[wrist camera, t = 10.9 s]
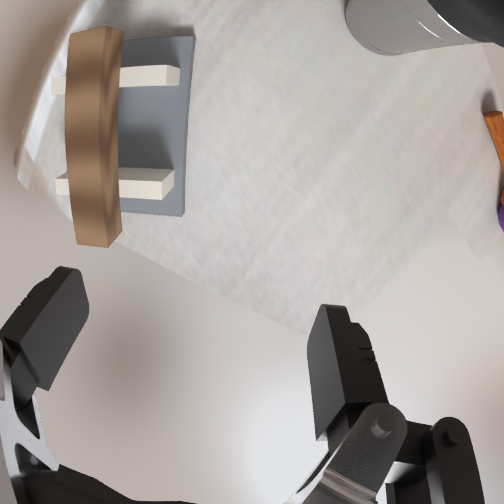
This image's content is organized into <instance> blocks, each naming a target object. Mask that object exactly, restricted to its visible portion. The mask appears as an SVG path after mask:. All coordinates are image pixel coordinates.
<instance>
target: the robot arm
mask: <svg viewBox="0 0 504 504" xmlns="http://www.w3.org/2000/svg"><path fill="white" fill-rule="evenodd" d="M345 17H346V22H347V25H348V28H349V30H350V31H351V33H352V35H353V36H354V37H355V38H356V39H357V41H358V42H360V43H361V44H362V45H363V46H364V47H366V48H367V49H369V50H371V51H373V52H375V53H378V54H382V55H390V56H393V55H401V54H404V53H409V52H415V51H421V50H427V49H433V48H440V47H447V46H455V45H464V44H474V43H487V42H493V43H496V44H497V45H500V46H502V47H504V0H349V1H348V3H347V6H346V10H345ZM88 314H89V303H88V299H87V295H86V291H85V287H84V283H83V279H82V275H81V272H80V271H79V270H78V269H74V268H69V267H63V266H59V267H57V268H56V269H55V271H54V272H53V273H52V274H51V276H49V277H48V278H46V279H44V280H43V281H41V282H40V283H38V284H37V285H35V286H34V287H33V289H32V290H31V291H30V292H29V293H28V295H27V298H26V297H25V298H24V300H23V301H22V302H21V305H19V306H18V307H17V308H16V310H15V311H14V312H13V314H12V315H11V316H10V318H9V319H8V320H7V322H6V323H5V324H4V326H3V327H2V328H1V330H0V504H194V503H189V502H183V501H135V500H131V499H129V498H127V497H125V496H124V495H122V494H120V493H118V492H117V491H115V490H113V489H111V488H110V487H108V486H106V485H105V484H103V483H102V482H100V481H98V480H97V479H95V478H93V477H90V476H87V475H85V474H82V473H80V472H77V471H75V470H72V469H70V468H68V467H65V466H63V465H61V464H60V465H59V464H58V462H57V460H56V458H55V456H54V454H53V453H52V451H51V450H50V448H49V446H48V444H47V441H46V437H45V434H44V430H43V426H42V421H41V417H40V412H39V408H38V403H37V398H36V395H35V393H34V391H35V389H36V387H40V388H42V389H44V390H47V391H49V389H50V387H51V385H52V383H53V381H54V379H55V377H56V375H57V373H58V371H59V369H60V367H61V365H62V364H63V362H64V360H65V358H66V356H67V354H68V352H69V351H70V349H71V347H72V345H73V343H74V342H75V340H76V338H77V336H78V334H79V333H80V331H81V329H82V328H83V326H84V324H85V322H86V321H87V318H88ZM307 358H308V367H309V375H310V384H311V393H312V403H313V412H314V423H315V434H316V441H328V448H329V450H328V451H327V452H326V453H325V455H324V456H323V458H322V459H321V460H320V462H319V463H318V464H317V466H316V467H315V468H314V469H313V471H312V472H311V473H310V475H309V476H308V477H307V478H306V480H305V481H304V482H303V483H302V485H301V486H300V487H299V488H298V489H297V491H296V492H295V493H294V494H293V495H292V496H291V497H290V498H289V499H288V500H287V501H286V502H285V503H284V504H378V502H377V501H376V500H375V498H376V495H377V493H378V491H379V489H380V488H381V486H382V484H383V482H385V484H386V495H387V504H485V502H484V496H483V491H482V485H481V480H480V475H479V471H478V466H477V462H476V458H475V454H474V450H473V446H472V443H471V439H470V435H469V432H468V430H467V428H466V426H465V425H464V424H463V423H462V422H461V421H460V420H458V419H456V418H453V417H445V418H442V419H440V420H439V421H438V422H437V423H435V424H434V425H433V426H431V425H426V424H420V423H415V422H411V421H407V420H406V419H405V417H404V415H403V414H402V413H401V411H399V410H398V409H397V408H396V407H394V406H392V405H390V404H389V402H388V399H387V395H386V392H385V388H384V384H383V381H382V378H381V374H380V371H379V368H378V364H377V362H376V361H375V359H376V358H375V355H374V351H372V345H371V342H370V339H369V336H368V334H367V333H366V332H365V330H364V329H363V328H362V327H361V325H360V324H359V323H352V322H351V321H350V318H349V314H348V311H347V308H346V307H345V306H340V305H328V304H322V305H321V306H320V308H319V311H318V313H317V316H316V319H315V322H314V325H313V327H312V330H311V333H310V336H309V339H308V345H307Z"/></svg>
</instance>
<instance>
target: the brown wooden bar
mask: <svg viewBox="0 0 504 504" xmlns="http://www.w3.org/2000/svg"><path fill="white" fill-rule="evenodd" d="M123 38H124V32H121V31H118V30H116V29H113V28H110V27H107V26H104V27H99V28H94V29H90V30H85V31H81V32H77V33H73V34H70V40H69V48H68V58H67V70H66V88H65V142H66V161H67V174H68V184H69V193H70V202H71V209H72V216H73V223H74V229H75V235H76V241H77V244H78V245H87V246H96V247H104V248H108V247H109V246H110V245H111V244H112V243H113V241H114V240H115V239H116V238H117V237H118V235H119V234H120V233H121V232H122V222H121V210H120V195H119V176H118V100H119V81H120V68H121V57H122V47H123Z"/></svg>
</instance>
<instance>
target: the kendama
mask: <svg viewBox="0 0 504 504" xmlns="http://www.w3.org/2000/svg"><path fill="white" fill-rule="evenodd" d="M483 117H484V119H485V122H486V124H487V127H488V129H489V132H490V134H491V137H492V140H493V142H494V145H495V148H496V151H497V154H498V157H499V160H500V163H501V166H502V169H503V173H504V119H503V114H502V112H501V111H493V112H489V113H487V114H485V115H483ZM501 203H502V204H503V205H502V206H501V207H500V210H499V215H498V219H499V224H500V226H501V228H502V230H503V232H504V189H503V193H502V197H501Z"/></svg>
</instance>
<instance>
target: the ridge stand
mask: <svg viewBox="0 0 504 504" xmlns="http://www.w3.org/2000/svg"><path fill="white" fill-rule="evenodd" d="M195 41H196V38H195V37H194V36H174V37H156V38H144V39H134V40H126V41H123V47H122V57H121V68H120V81H119V100H118V176H119V195H120V210H121V212H128V213H141V214H153V215H165V216H177V217H182V216H183V214H184V211H185V171H186V148H187V130H188V114H189V101H190V89H191V78H192V68H193V58H194V49H195ZM65 88H66V76H63V77H58V78H53V79H52V95H59V94H65ZM55 185H56V193H57V195H70V193H69V184H68V174H67V172H66V173H64V174H62V175H61V176H59V177H57V178H55Z"/></svg>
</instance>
